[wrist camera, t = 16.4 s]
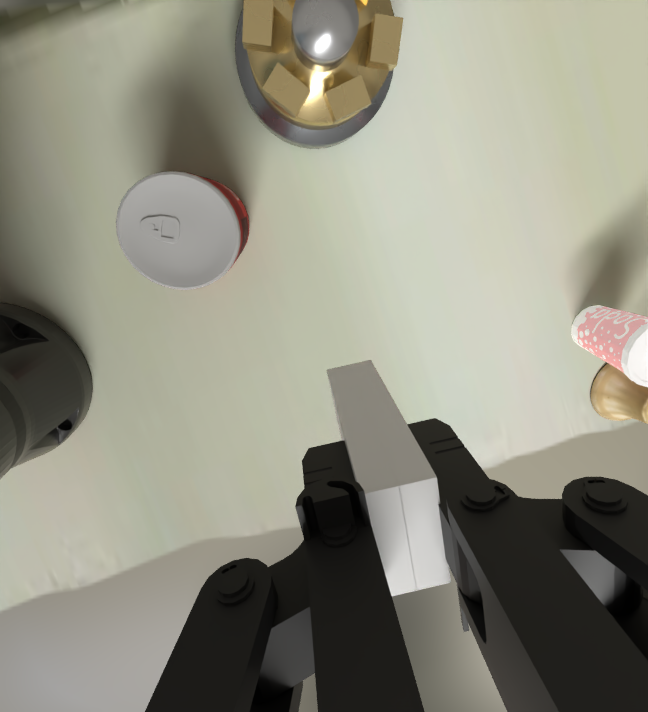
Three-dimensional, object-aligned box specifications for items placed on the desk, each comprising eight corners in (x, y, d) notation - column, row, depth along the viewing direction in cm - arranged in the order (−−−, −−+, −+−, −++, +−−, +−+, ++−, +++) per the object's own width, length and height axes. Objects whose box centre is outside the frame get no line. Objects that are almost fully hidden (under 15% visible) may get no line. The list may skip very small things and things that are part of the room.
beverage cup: (618, 290, 45) (757, 327, 32) (621, 344, 47) (753, 400, 34) (561, 308, 45) (676, 353, 32) (566, 361, 47) (676, 423, 34)
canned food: (149, 181, 38) (101, 175, 27) (243, 174, 38) (230, 165, 28) (167, 271, 40) (129, 296, 30) (255, 263, 41) (247, 285, 31)
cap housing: (259, 161, 38) (257, 158, 35) (220, -6, 34) (214, -27, 31) (395, 132, 38) (405, 127, 35) (373, -37, 34) (382, -61, 31)
